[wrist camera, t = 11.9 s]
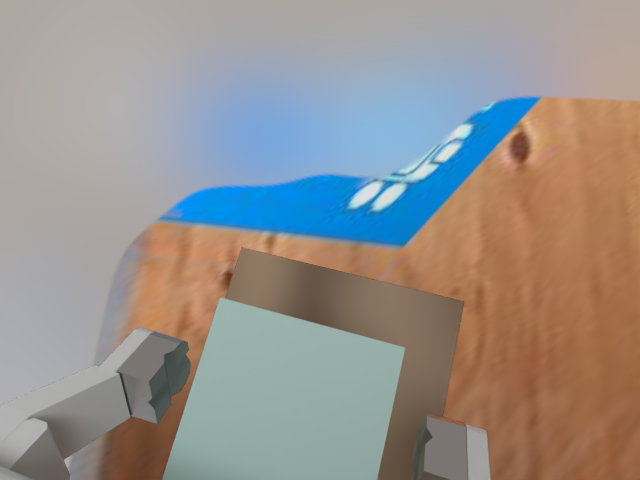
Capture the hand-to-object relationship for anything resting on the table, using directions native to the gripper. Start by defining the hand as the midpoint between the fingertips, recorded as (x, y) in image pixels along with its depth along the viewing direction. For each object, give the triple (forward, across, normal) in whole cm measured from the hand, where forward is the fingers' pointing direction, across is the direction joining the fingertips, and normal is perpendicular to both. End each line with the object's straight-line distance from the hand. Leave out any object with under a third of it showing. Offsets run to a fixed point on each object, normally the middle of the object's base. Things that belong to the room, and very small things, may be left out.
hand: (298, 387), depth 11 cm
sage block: (+4, 0, +4) cm, 6 cm away
